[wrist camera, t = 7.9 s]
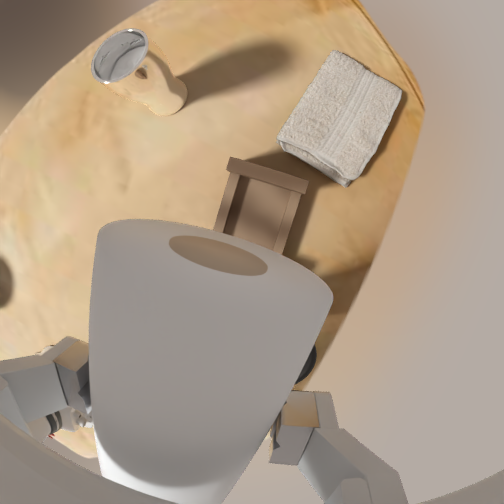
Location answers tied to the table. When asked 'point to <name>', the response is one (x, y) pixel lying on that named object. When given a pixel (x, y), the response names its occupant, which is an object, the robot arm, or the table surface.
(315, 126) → the washcloth
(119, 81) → the silver tumbler
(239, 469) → the roll
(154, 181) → the table surface
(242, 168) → the cradle
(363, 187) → the table surface
